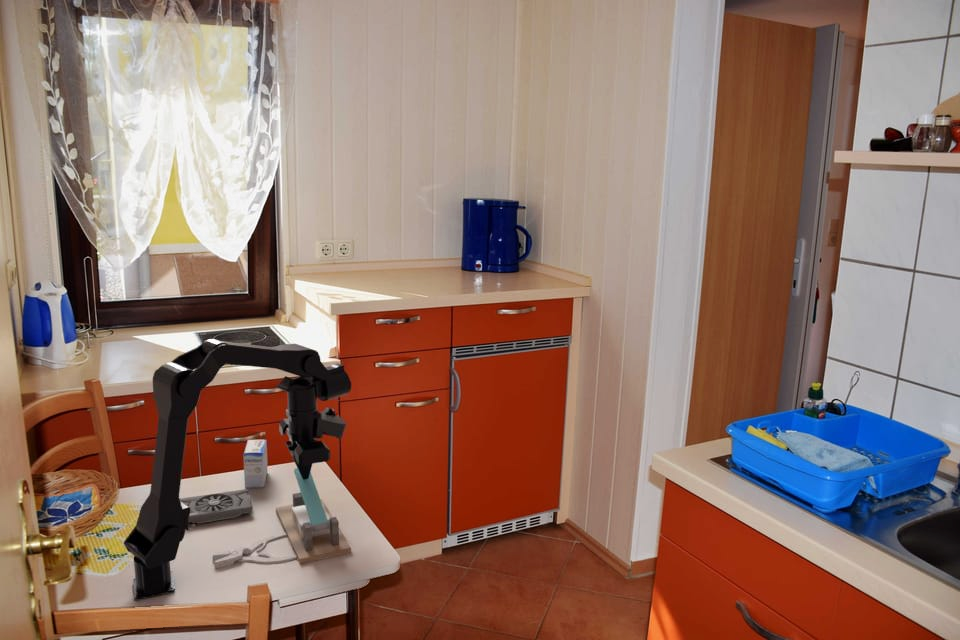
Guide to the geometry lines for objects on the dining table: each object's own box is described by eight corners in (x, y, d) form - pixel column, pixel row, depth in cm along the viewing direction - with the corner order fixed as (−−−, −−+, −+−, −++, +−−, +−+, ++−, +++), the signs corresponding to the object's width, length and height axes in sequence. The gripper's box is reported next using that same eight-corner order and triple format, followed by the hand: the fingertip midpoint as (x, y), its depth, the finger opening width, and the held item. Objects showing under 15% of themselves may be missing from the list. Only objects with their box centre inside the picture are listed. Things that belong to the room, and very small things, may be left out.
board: (351, 552, 145) (350, 524, 143) (299, 563, 140) (298, 535, 139) (322, 503, 164) (321, 477, 162) (275, 511, 159) (274, 486, 158)
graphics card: (167, 523, 148) (166, 495, 158) (168, 540, 149) (167, 511, 159) (255, 510, 154) (248, 484, 165) (256, 526, 155) (248, 499, 166)
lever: (329, 529, 144) (330, 525, 144) (313, 533, 143) (313, 528, 142) (308, 469, 157) (309, 465, 156) (293, 472, 156) (293, 468, 155)
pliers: (300, 552, 142) (217, 571, 135) (300, 559, 142) (218, 579, 135) (287, 528, 150) (209, 545, 144) (287, 535, 151) (209, 552, 144)
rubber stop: (312, 515, 158) (311, 494, 157) (295, 518, 157) (294, 497, 156) (310, 510, 160) (309, 490, 159) (293, 514, 159) (292, 493, 158)
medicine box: (248, 473, 177) (246, 439, 175) (268, 472, 178) (266, 438, 176) (244, 488, 170) (242, 453, 168) (264, 487, 170) (263, 452, 168)
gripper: (355, 416, 145) (356, 490, 149) (329, 387, 161) (331, 454, 165) (297, 425, 140) (300, 500, 144) (277, 393, 156) (280, 462, 160)
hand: (305, 478), depth 153 cm, fingers closed
